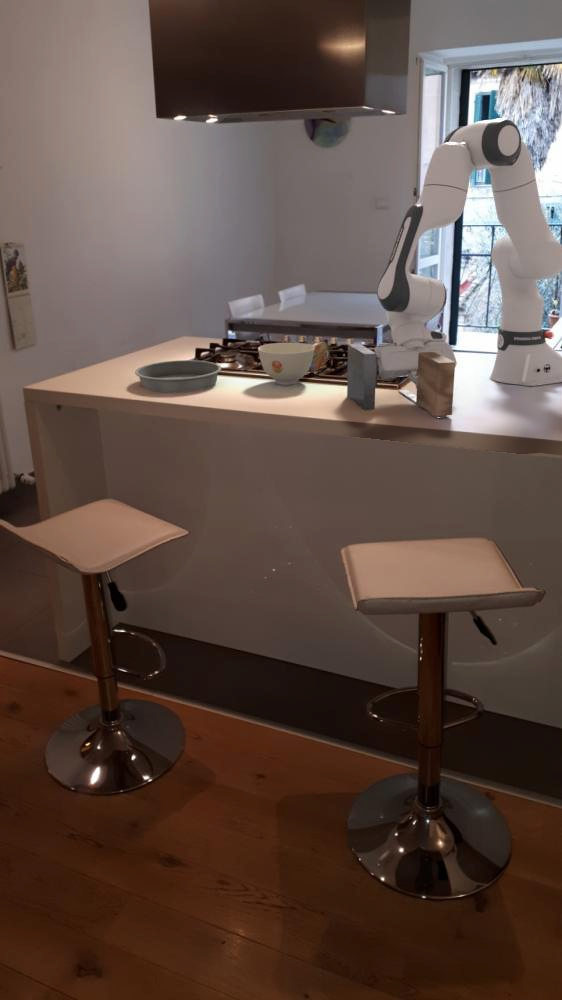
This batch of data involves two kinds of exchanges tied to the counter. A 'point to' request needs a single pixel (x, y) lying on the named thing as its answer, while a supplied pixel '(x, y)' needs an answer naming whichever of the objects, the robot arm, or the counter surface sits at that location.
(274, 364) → the bowl
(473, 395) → the counter surface
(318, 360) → the tin
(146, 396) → the counter surface
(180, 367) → the cake pan
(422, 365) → the brown flat angular block
